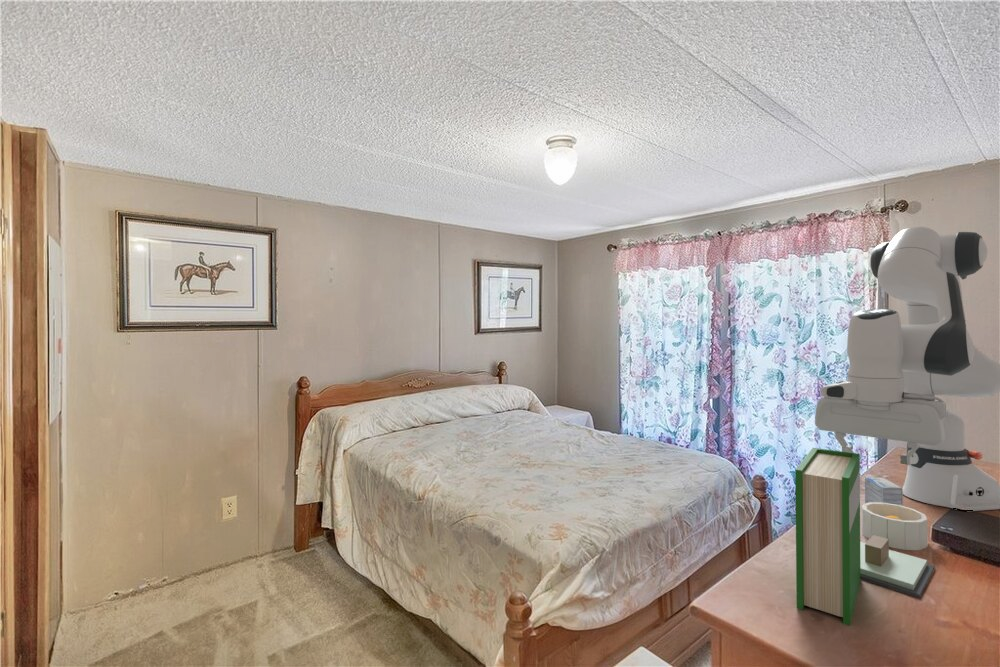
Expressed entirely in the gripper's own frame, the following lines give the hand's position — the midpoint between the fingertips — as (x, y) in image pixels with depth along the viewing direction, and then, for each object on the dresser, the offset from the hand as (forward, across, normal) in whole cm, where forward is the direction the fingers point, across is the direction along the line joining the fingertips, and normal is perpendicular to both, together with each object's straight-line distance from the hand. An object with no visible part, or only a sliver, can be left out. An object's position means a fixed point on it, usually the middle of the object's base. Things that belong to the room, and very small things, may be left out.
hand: (875, 458), depth 95 cm
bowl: (+21, 0, -15) cm, 26 cm away
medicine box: (+22, +4, -28) cm, 36 cm away
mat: (+21, 0, +2) cm, 21 cm away
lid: (+20, 0, +2) cm, 21 cm away
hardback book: (+21, +3, +19) cm, 29 cm away
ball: (+18, 0, -15) cm, 24 cm away
